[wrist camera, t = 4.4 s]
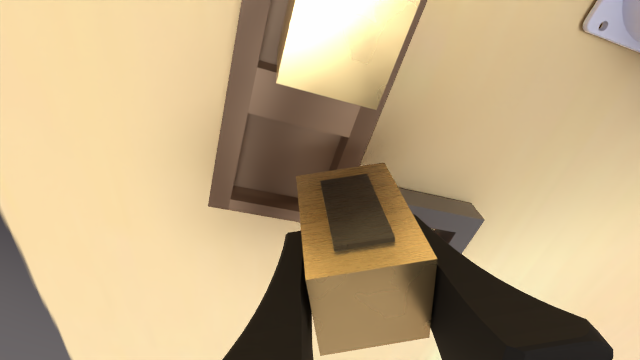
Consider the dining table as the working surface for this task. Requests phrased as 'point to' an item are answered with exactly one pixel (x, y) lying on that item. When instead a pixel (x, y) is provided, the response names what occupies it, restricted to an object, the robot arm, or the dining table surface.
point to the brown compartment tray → (282, 123)
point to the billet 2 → (364, 260)
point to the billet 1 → (343, 47)
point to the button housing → (445, 217)
